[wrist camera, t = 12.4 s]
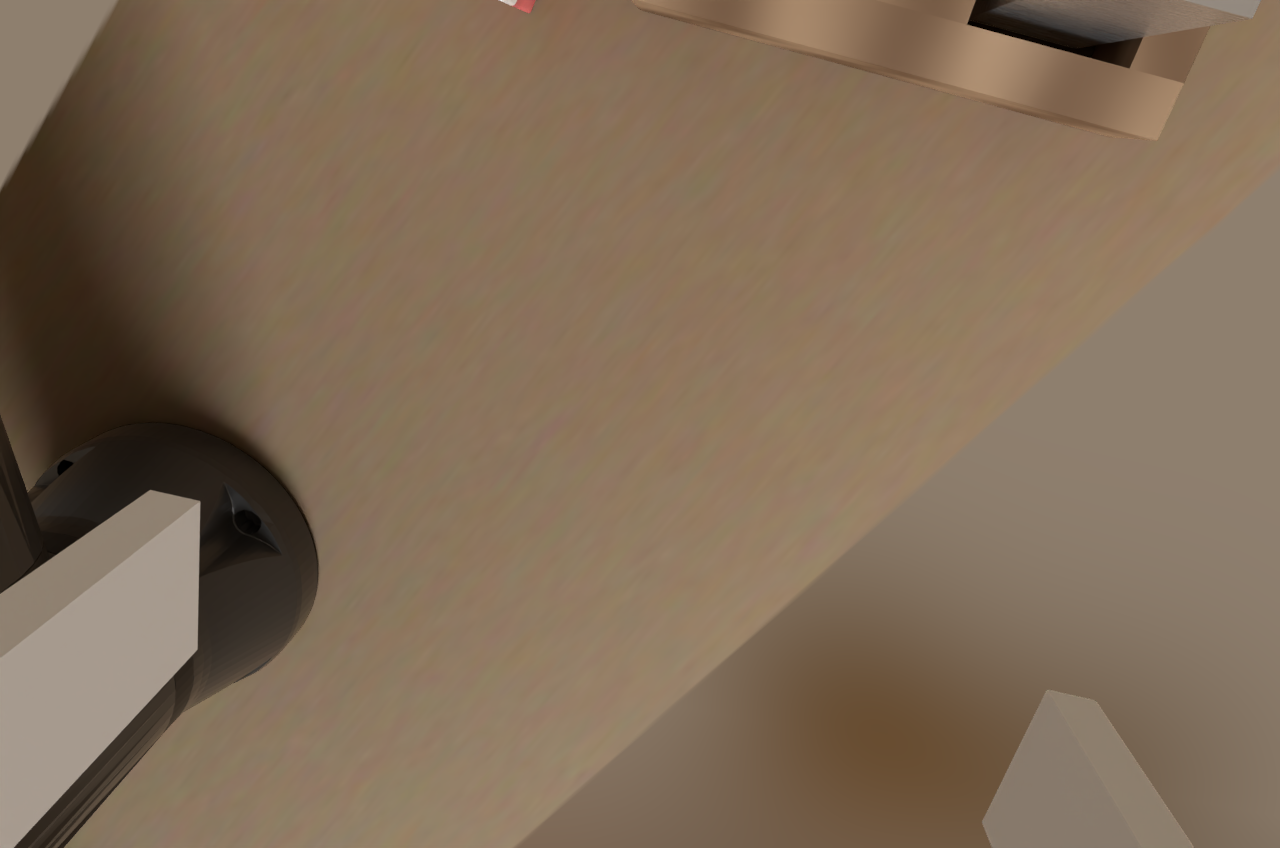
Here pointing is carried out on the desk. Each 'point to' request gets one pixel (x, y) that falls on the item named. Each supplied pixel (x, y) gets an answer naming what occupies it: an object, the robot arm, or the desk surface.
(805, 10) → the brown holed block
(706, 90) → the desk surface
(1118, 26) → the steel peg
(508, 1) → the ink cartridge box
